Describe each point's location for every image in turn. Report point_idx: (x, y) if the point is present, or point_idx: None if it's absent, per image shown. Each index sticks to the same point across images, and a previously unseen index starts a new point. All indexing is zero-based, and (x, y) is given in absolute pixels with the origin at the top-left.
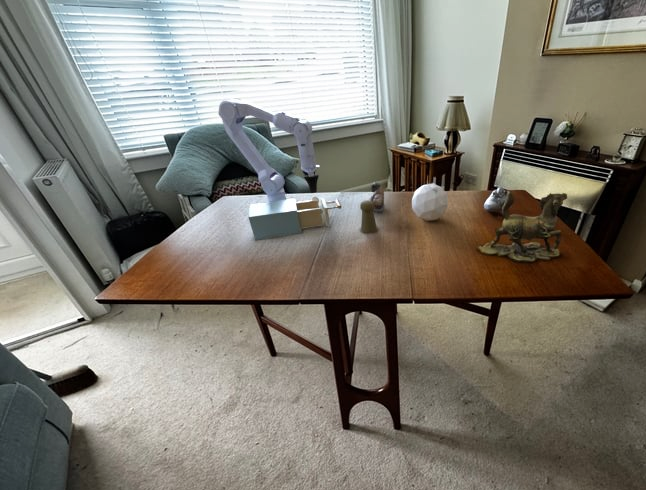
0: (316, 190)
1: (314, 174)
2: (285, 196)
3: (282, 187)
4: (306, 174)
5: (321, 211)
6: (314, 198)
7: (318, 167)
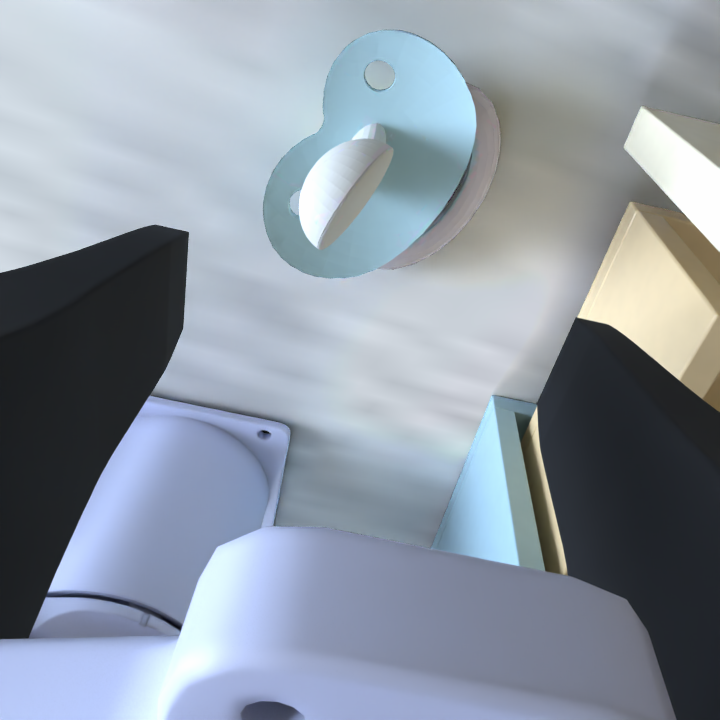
0: (626, 340)
1: (36, 335)
2: (151, 544)
3: (43, 637)
4: (39, 560)
5: (484, 123)
6: (343, 220)
7: (661, 696)
